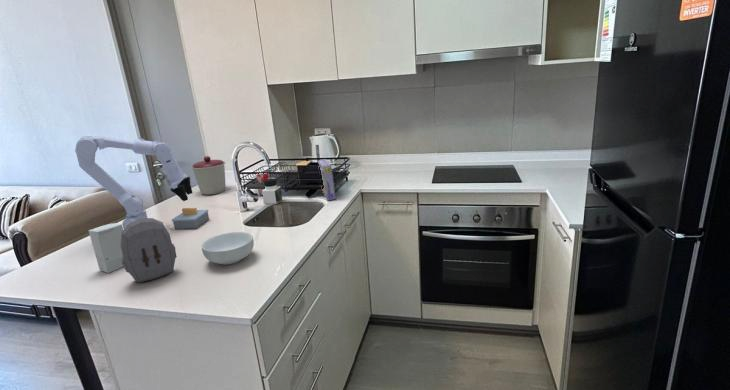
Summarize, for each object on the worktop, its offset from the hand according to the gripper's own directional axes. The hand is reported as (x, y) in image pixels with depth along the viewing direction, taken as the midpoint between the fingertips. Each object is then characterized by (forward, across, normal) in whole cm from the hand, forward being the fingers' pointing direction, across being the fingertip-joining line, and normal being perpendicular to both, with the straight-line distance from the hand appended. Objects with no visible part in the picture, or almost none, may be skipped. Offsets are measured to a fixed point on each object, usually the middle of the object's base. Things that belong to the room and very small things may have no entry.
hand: (188, 197), depth 169 cm
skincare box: (+4, -41, +17) cm, 44 cm away
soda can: (+22, +32, -24) cm, 46 cm away
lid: (+8, -4, +1) cm, 9 cm away
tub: (+11, -5, +2) cm, 12 cm away
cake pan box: (+28, +16, -57) cm, 65 cm away
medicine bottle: (+22, +16, -30) cm, 40 cm away
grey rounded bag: (+7, -54, 0) cm, 54 cm away
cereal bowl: (+13, -47, -22) cm, 54 cm away
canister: (+16, +48, +6) cm, 51 cm away
